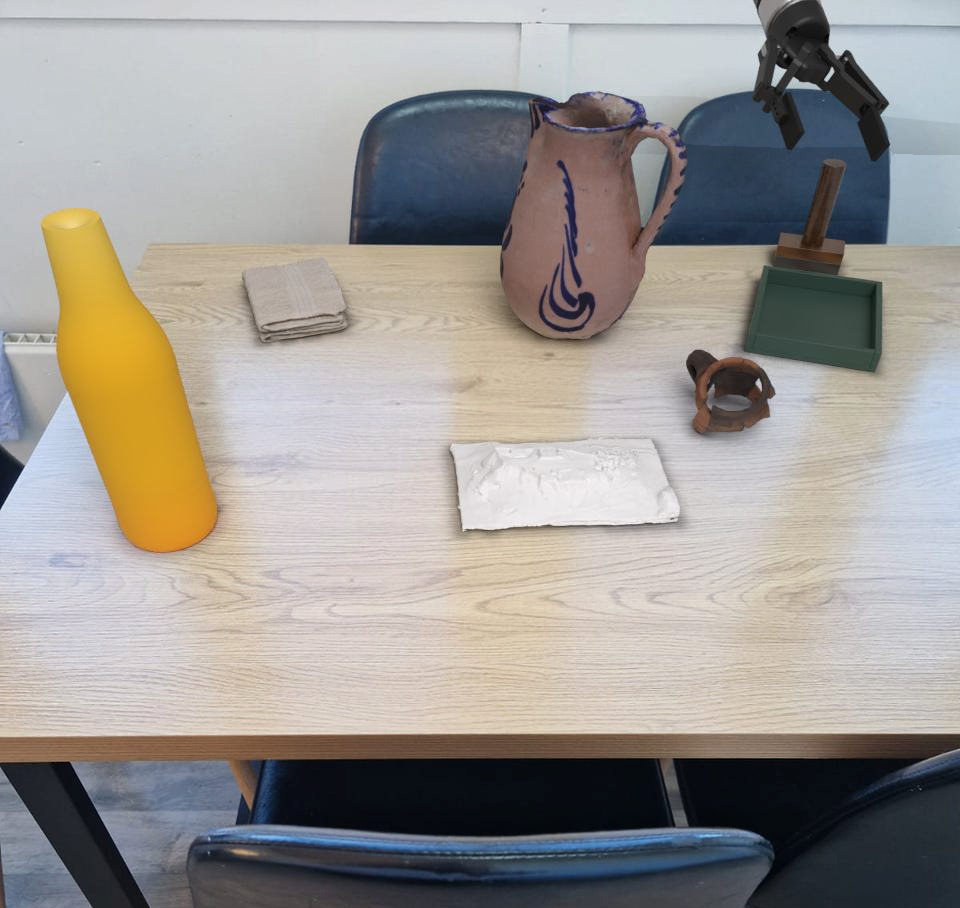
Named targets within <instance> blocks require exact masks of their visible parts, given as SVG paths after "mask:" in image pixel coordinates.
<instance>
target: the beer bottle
mask: <svg viewBox="0 0 960 908" xmlns="http://www.w3.org/2000/svg"><path fill="white" fill-rule="evenodd" d="M40 226H41V230H42V235H43V239H44V245H45V248H46V252H47V255H48V260H49V263H50V264H49V265H50V267H51V271H52V275H53V280H54V283H55V289H56V292H57V297H58V303H59V316H58V322H57V331H56V343H55V345H56V349H55V351H56V359H57V364H58V368H59V371H60V375H61V379H62V381H63V384H64V387H65V389H66V391H67V394H68V395H69V398H70V401H71V403H72V406H73V409H74V411H75V414H76V416H77V419H78V421H79V423H80V426H81V428H82V431H83V434H84V436H85V439H86V442H87V444H88V446H89V450H90V452H91V455H92V457H93V460H94V462H95V465H96V467H97V469H98V472H99V474H100V477H101V480H102V482H103V485H104V487H105V490H106V493H107V495H108V498H109V500H110V502H111V505H112V508H113V511H114V515H115V517H116V520H117V523H118V525H119V528H120V530H121V531H122V533H123V534H124V536H125V538H126V539H127V540H128V541H129V542H130V543H132V544H133V546H135V547H137V548H139V549H142V550H145V551H147V552H155V553H171V552H176V551H181V550H184V549H187V548H190V547H191V546H194V545H196V544H198V543H200V542H201V541H202V540H204V539H205V538H206V537H207V536H208V535H209V534H210V533H211V532H212V530H213V529H214V527H215V526H216V523H217V518H218V505H217V499H216V496H215V492H214V490H213V486H212V483H211V480H210V477H209V474H208V470H207V467H206V463H205V460H204V455H203V452H202V449H201V445H200V441H199V438H198V435H197V430H196V426H195V424H194V420H193V416H192V413H191V409H190V406H189V402H188V398H187V395H186V391H185V388H184V384H183V380H182V376H181V373H180V369H179V365H178V362H177V361H178V360H177V358H176V355H175V352H174V349H173V346H172V345H171V342H170V340H169V337H168V335H167V334H166V332H165V331H164V328H163V327H162V325H161V324H160V323H159V322H158V320H157V319H156V318H155V316H154V315H153V314H152V313H151V312H150V310H149V309H148V308H147V307H146V306H145V304H143V302H142V301H141V300H140V299H139V298H138V296H137V295H136V294H135V292H134V290H133V289H132V287H131V285H130V283H129V280H128V279H127V276H126V274H125V272H124V269H123V267H122V264H121V262H120V260H119V257H118V255H117V252H116V250H115V247H114V245H113V242H112V240H111V238H110V236H109V233H108V232H107V229H106V227H105V224H104V222H103V220H102V217H101V215H100V213H99V212H98V211H96V210H94V209H91V208H85V207H71V208H65V209H61V210H56V211H53V212H51V213H49V214H46V215H45V216H44V217H43V218H42V219H41V221H40Z"/></svg>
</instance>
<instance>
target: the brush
mask: <svg viewBox="0 0 960 908" xmlns="http://www.w3.org/2000/svg"><path fill="white" fill-rule="evenodd" d="M847 165H848V163H847V162H846V161H844V160H842V159H838V158H826V159H824V160H823V161H822V165H821V168H820V172H819V175H818V178H817V183H816V186H815V190H814V193H813V196H812V200H811V203H810V208H809V212H808V215H807V218H806V221H805V226H804V229H803V232H802V234H797V233H788V232H780V233H779V236H778V241H777V245H776V249H775V254H774V257H773V263H772V267H779V268H786V269H794V270H801V271H808V272H815V273H822V274H830V275H837V276H839V272H840V268H841V265H842V262H843V259H844V256H845V249H846V248H845V247H846V240H841V239H835V238H826V236H827V232H828V229H829V225H830V221H831V218H832V215H833V211H834V208H835V205H836V201H837V198H838V195H839V191H840V188H841V185H842V181H843V178H844V175H845V172H846V169H847Z"/></svg>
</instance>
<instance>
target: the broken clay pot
mask: <svg viewBox="0 0 960 908" xmlns="http://www.w3.org/2000/svg"><path fill="white" fill-rule="evenodd" d="M685 366H686V369H687V372H688V375H689V376H690V378H691V380H692V382H693V383H694V386H695V390H694V394H695V396H694V397H695V398H694V399H695V406H696V409H697V412H696V414H695V416H694V418H693V419H692V426H693V428H694V429H695V430H696V432H698V433H699V434H703V433H706V431H707V432H708V433H737V432H743V431H744V429H745V428H748V429H750V428H751V427H754V426H755V425H756V424H757V423H759V422H760V421H761V420H764V419H769V418H771V409H770V405H769V401H768V400H771V399H773V398H774V397H775V396H776V389H775V387H774V386H773V384H772V381H771V380H770V378H769V375H768V374H767V372H766V370H765V369H764V368H763V367H761V366H760V365H759V364H758V363H756V362H754V361H753V360H751V359H748V358H743V357H742V356H730V357H725V358H722V359H718V358H716V357H714V355H713V354H711V353H710V352H708V351H705V350H704V349H693V351H692V352H691V353H689V354H688V355H687V358H686V360H685ZM758 381H760V384H761V385H760V386H761V389H760V387H759V386H758V385H757V382H758ZM713 386H714V387H713ZM712 387H713V389H714V394H713V395H714V398H716V399H717V398H720V397H725V396H740V397H743V398H746V399H747V400H749V402H750V403H752V405H751V406H749V407H747V408H744V409H741V410H727V409H724V408H721V407H719V406H717V405H716V404H712V406H711V408H710V407H709V406H708V403H707V401H708V400H709V395H708V393H709V391H710V390H711V388H712Z"/></svg>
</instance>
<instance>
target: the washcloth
mask: <svg viewBox="0 0 960 908" xmlns="http://www.w3.org/2000/svg"><path fill="white" fill-rule="evenodd" d="M241 280H242V281H243V284H244V287H243V288H244V289H246V293H247V297H248V300H249V305H250V308H251V310H252V314H253V317H254V322H255V326H256V327H257V329H258V330H257V332H258V334H259V338H260V341H262V342H263V343H270V342H277V341H281V340H286V339H294V338H301V337H308V336H315V335H320V334H325V333H331V332H337V331H340V330H344V329H346V328H347V327H348V321H347V320H348V319H347V317H346V313H345V311H346V310H347V305H346V302H345V299H344V297H343V296H344V295H343V292H342V288H341V286H340V285H339V283H338V281H337V280H336V276H335V274H334V273H333V271H332V270H331V268H330V266H329V263H328V261H327V259H326V258H324V257H321V258H320V257H316V258H310V259H305V260H304V259H303V260H302V259H301V260H299V261H297V262H293V263H287V264H283V265H277V264H275V265H270V266H266V265H265V266H263V267H262V266H260V267H255V268H250V269H244V270H243V271H242V272H241Z"/></svg>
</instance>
